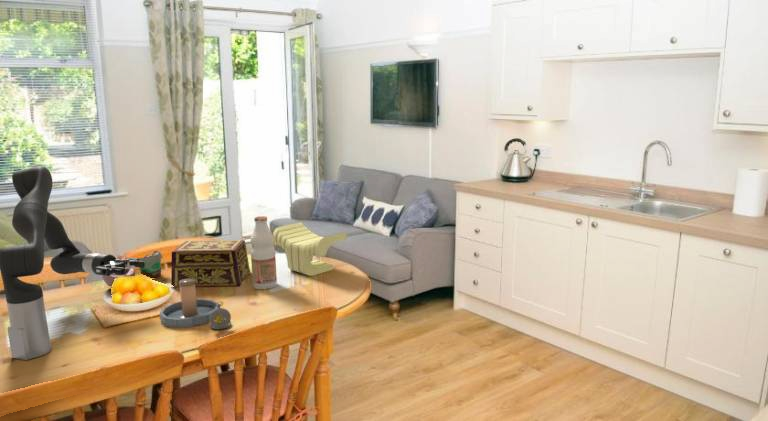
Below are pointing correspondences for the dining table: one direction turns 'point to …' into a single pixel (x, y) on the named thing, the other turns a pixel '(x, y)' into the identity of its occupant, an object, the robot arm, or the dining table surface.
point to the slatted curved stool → (304, 248)
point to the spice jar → (188, 297)
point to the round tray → (174, 317)
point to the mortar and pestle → (110, 278)
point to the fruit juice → (263, 255)
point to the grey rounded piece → (220, 318)
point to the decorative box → (210, 263)
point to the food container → (152, 265)
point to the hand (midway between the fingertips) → (134, 267)
